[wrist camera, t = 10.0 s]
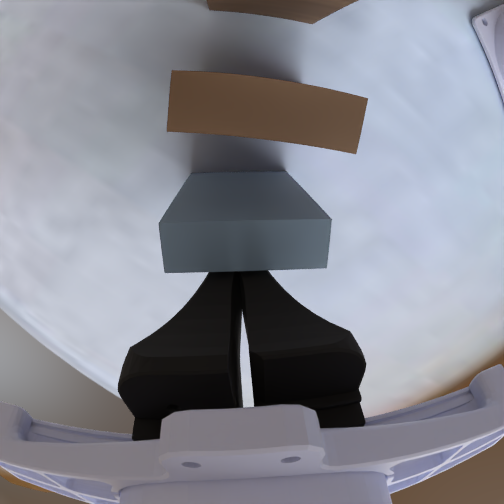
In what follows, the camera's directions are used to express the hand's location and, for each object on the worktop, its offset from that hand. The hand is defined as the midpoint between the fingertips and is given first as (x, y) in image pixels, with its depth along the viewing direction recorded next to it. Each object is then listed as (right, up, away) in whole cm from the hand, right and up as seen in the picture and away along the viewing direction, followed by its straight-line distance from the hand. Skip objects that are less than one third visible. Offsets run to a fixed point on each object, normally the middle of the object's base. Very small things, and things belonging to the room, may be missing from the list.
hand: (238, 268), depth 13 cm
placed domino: (0, +4, +4) cm, 6 cm away
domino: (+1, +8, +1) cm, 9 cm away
